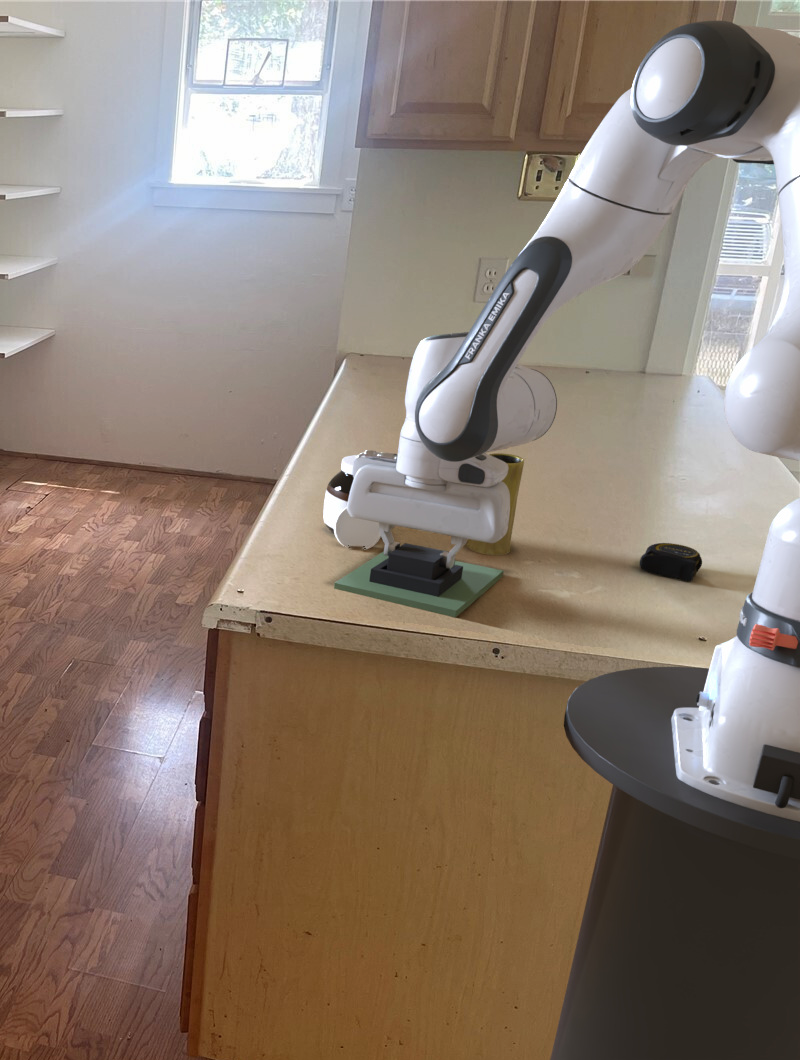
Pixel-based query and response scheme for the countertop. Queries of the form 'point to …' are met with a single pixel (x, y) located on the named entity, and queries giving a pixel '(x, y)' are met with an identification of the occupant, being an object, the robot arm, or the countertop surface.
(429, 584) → the socket mat
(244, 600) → the countertop surface
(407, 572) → the plug
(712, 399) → the countertop surface
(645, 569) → the tape measure
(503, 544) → the vase
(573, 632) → the countertop surface
